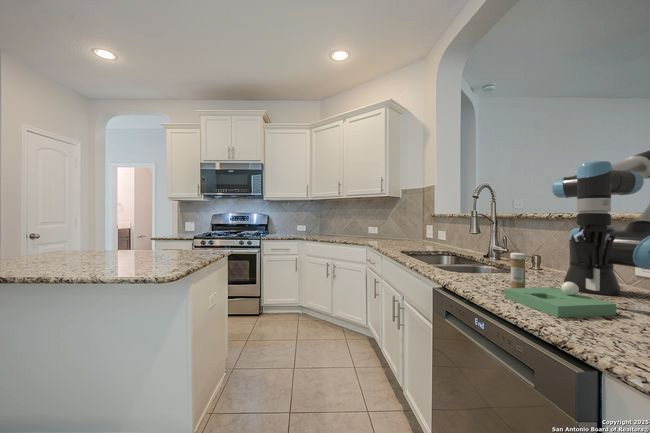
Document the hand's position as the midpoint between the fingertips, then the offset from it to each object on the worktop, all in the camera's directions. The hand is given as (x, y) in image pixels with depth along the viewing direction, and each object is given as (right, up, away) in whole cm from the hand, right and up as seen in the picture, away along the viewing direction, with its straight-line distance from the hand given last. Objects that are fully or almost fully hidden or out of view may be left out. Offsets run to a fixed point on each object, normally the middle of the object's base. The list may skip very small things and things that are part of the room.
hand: (592, 289), depth 84 cm
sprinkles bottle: (-12, -5, +16) cm, 20 cm away
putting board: (-13, -4, -2) cm, 14 cm away
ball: (-8, +1, -1) cm, 8 cm away
